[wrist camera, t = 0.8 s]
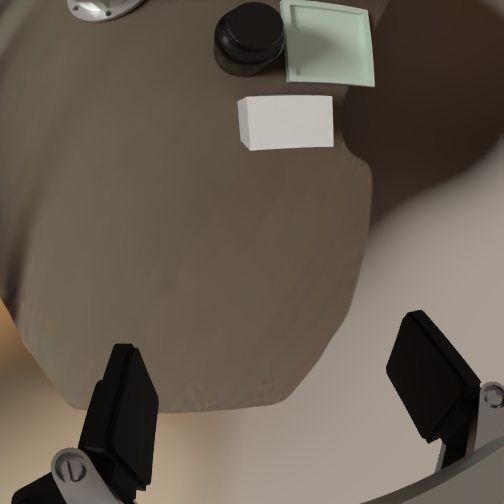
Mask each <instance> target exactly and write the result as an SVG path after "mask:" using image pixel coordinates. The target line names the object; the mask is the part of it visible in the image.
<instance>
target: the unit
mask: <svg viewBox="0 0 504 504" xmlns="http://www.w3.org/2000/svg"><path fill="white" fill-rule="evenodd" d="M238 113H239V126H240V139H241V141H242V142H243V143H244V144H245V145H246V146H247V147H248V148H249V150H250V151H251V150H264V149H279V148H299V147H333V107H332V96H316V94H277V95H255V96H254V97H246V98H244V99H241V100H239V101H238Z"/></svg>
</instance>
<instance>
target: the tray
mask: <svg viewBox="0 0 504 504" xmlns="http://www.w3.org/2000/svg"><path fill="white" fill-rule="evenodd" d="M280 8H281V18H282V19H283V23H284V26H283V27H284V30H285V35H286V39H285V45H284V52H285V65H286V79H287V83H326V84H342V85H354V86H364V87H374V86H375V83H374V82H375V81H374V66H373V54H372V43H371V33H370V25H369V17H368V10H364V9H359V8H354V7H349V6H343V5H337V4H330V3H323V2H314V1H304V0H282V1H281V2H280Z"/></svg>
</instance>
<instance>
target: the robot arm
mask: <svg viewBox="0 0 504 504" xmlns="http://www.w3.org/2000/svg"><path fill="white" fill-rule="evenodd" d="M143 1H144V0H67V4H68V7H69V10H70V11H71V13H72V14H73V15H74V16H76V17H77V18H79V19H81V20H83V21H86V22H94V23H97V22H105V21H109V20H113V19H115V18H118V17H120V16H123V15H124V14H126V13H128V12H130V11H131V10H133V9H134V8H136V7H137V6H138V5H139V4H141V3H142V2H143ZM110 14H111V15H110ZM109 15H110V16H109ZM386 372H387V375H388V377H389V379H390V380H391V382H392V384H393V386H394V387H395V389H396V391H397V393H398V395H399V396H400V398H401V400H402V402H403V404H404V405H405V407H406V409H407V411H408V413H409V415H410V416H411V419H412V420H413V422H414V424H415V426H416V428H417V430H418V432H419V434H420V435H421V437H422V438H424V439H426V441H427V443H428V444H429V443H431V442H433V441H435V440H437V439H439V438H441V440H442V446H441V450H440V454H439V458H438V462H437V466H436V469H435V473H434V474H432V475H430V476H428V477H426V478H424V479H422V480H420V481H418V482H415V483H413V484H411V485H409V486H406V487H404V488H402V489H399V490H397V491H394V492H392V493H389V494H387V495H384V496H382V497H379V498H376V499H373V500H370V501H368V502H364V503H362V504H504V386H503V385H501V384H500V383H497V382H488V383H485V384H484V385H483V387H482V388H481V387H480V386H479V385H480V383H481V381H480V379H479V378H478V377H477V376H476V374H475V373H474V372H473V371H472V369H471V368H470V367H469V365H468V364H467V363H466V361H465V360H464V359H463V358H462V356H461V355H460V354H459V353H458V351H457V350H456V349H455V348H454V347H453V345H452V344H451V343H450V342H449V340H448V339H447V338H446V337H445V336H444V334H443V333H442V332H441V331H440V330H439V329H438V327H437V326H436V325H435V324H434V323H433V322H432V320H431V319H430V318H429V317H428V316H427V315H426V314H425V312H423V311H422V310H417V311H413V312H408V313H407V314H406V316H405V317H404V318H403V320H402V322H401V326H400V329H399V332H398V335H397V338H396V341H395V344H394V347H393V350H392V352H391V355H390V358H389V360H388V363H387V366H386ZM158 406H159V400H158V395H157V393H156V391H155V388H154V386H153V384H152V381H151V379H150V377H149V374H148V372H147V369H146V367H145V364H144V362H143V359H142V357H141V354H140V351H139V349H138V348H134V346H133V345H132V344H115V345H114V347H113V350H112V353H111V356H110V358H109V361H108V364H107V367H106V370H105V373H104V377H103V380H99V381H98V382H97V384H96V386H95V389H94V392H93V395H92V398H91V401H90V405H89V408H88V411H87V415H86V418H85V422H84V426H83V429H82V433H81V436H80V441H79V444H78V448H77V449H76V448H65V449H62V450H60V451H59V452H58V453H57V454H56V455H55V456H54V458H53V460H52V463H51V472H50V473H48V474H46V475H44V476H43V477H41V478H39V479H37V480H36V481H34V482H32V483H30V484H28V485H26V486H25V487H23V488H21V489H19V490H18V491H16V492H15V493H14V495H13V497H12V501H11V504H137V502H136V501H135V500H134V499H136V490H140V491H146V485H150V483H151V476H152V462H153V452H154V442H155V441H154V440H155V432H156V423H157V414H158Z"/></svg>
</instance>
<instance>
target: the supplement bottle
mask: <svg viewBox="0 0 504 504" xmlns="http://www.w3.org/2000/svg"><path fill="white" fill-rule="evenodd" d="M283 26H284V23H283V19H282V18H281V15H279V13H278V12H277V11H276V10H275V9H274V8H272V7H271V6H269V5H266V4H264V3H260V2H258V3H257V2H252V3H251V2H248V3H245V4H242V5H240V6H238V7H237V8H235V9H233V10H231V11H229V12H228V13H226V14H225V15H224V16H223V17H222V18H221V19H220V20H219V22H218V23H217V25H216V28H215V33H214V57H215V60H216V62H217V64H218V65H219V67H220V68H221V69H222V70H224V71H225V72H227V73H228V74H231V75H233V76H238V77H247V76H252V75H254V74H257V73H259V72H260V71H262V70H263V69H264V68H265V67H266V66H267V65H269V64H270V63H271V62H272V61H273V60H274V59H275V58H276V57H277V56H278V55H279V54H280V53H281V51H282V49H283V47H284V45H285V39H286V35H285V30H284V27H283Z"/></svg>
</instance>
